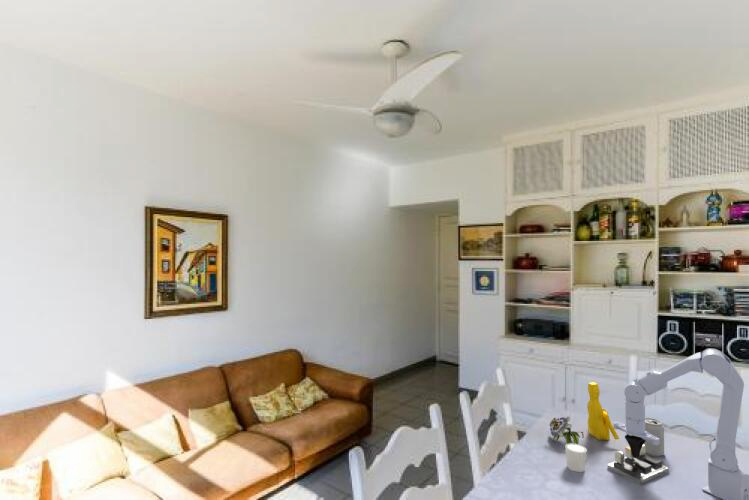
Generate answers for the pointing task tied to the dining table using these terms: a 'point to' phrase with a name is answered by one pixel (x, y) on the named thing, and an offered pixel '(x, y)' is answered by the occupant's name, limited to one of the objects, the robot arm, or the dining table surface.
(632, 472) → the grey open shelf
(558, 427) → the passion flower
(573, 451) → the white cylinder
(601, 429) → the figure statuette
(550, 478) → the dining table surface
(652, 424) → the can
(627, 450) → the handle
